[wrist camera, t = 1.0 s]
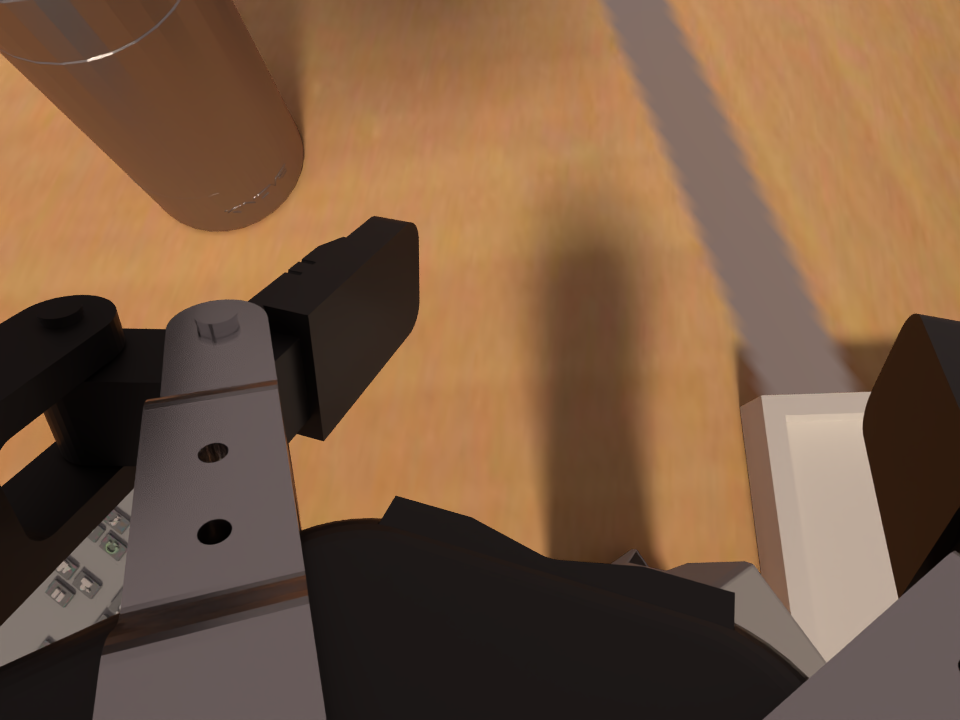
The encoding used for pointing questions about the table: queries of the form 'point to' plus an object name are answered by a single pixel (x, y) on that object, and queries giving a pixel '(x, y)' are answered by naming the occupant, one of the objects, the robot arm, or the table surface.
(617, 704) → the robot arm
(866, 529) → the tray
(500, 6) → the table surface
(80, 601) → the office telephone
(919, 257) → the table surface
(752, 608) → the vintage mobile phone
